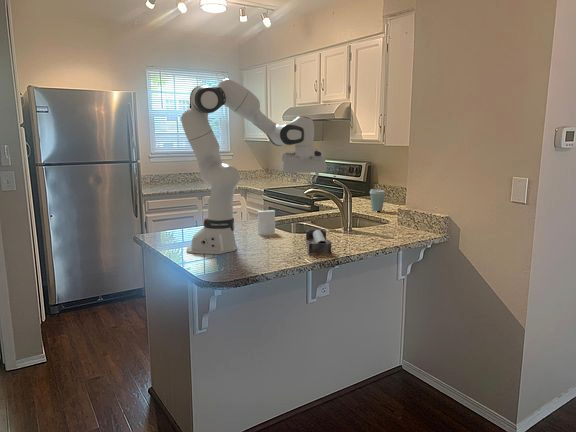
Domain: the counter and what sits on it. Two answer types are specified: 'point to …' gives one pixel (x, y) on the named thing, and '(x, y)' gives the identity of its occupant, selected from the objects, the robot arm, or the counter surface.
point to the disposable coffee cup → (377, 199)
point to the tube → (318, 237)
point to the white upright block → (266, 222)
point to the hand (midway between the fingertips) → (304, 182)
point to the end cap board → (317, 244)
